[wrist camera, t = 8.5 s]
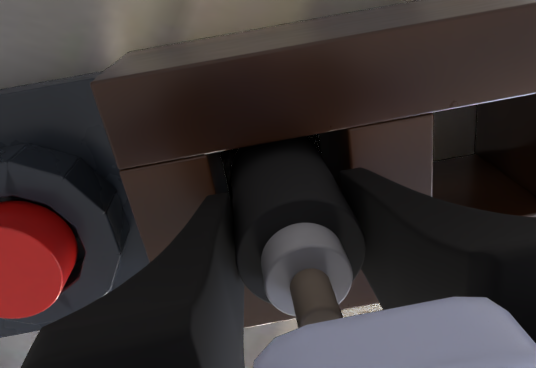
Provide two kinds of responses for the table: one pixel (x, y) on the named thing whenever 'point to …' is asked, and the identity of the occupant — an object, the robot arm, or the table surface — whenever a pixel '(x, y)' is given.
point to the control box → (69, 188)
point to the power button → (33, 258)
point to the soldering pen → (294, 230)
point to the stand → (330, 110)
